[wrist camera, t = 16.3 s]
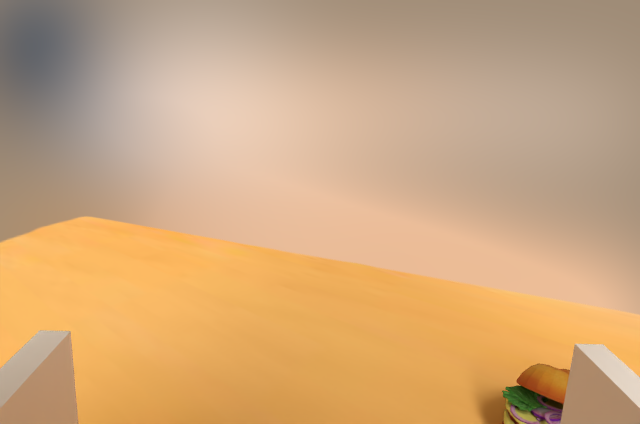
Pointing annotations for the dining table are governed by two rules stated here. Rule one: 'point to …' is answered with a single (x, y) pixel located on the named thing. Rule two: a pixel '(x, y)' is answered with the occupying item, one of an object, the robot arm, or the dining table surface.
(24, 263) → the dining table surface
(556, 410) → the cheeseburger
